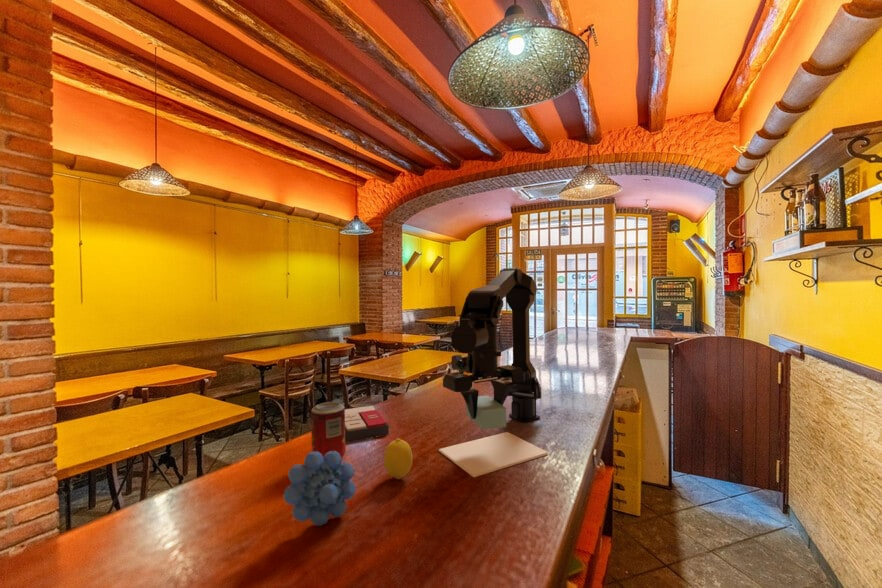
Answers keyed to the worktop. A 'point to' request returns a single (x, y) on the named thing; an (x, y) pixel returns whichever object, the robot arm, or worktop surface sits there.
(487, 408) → the grey-green block
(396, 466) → the lemon
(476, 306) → the robot arm
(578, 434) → the worktop surface
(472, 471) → the mat
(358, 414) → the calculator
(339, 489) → the blue knobbed flower
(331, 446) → the soda can
